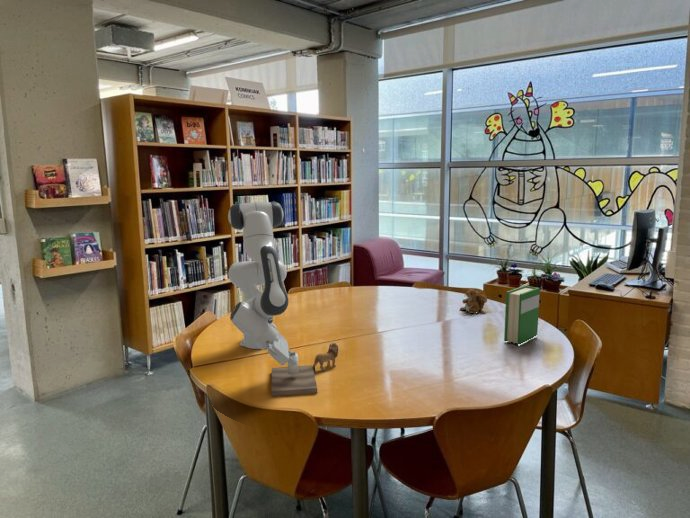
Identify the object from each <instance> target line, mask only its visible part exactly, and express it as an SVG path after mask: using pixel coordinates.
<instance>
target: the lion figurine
mask: <svg viewBox="0 0 690 518" xmlns="http://www.w3.org/2000/svg"><path fill="white" fill-rule="evenodd" d="M328 346H329V347H328V350H327V352H324V353H317V354H316V355H315V358H314V361H313V364H312V366H313V371H314V373H315V372H316V370H317V369H316V366H317V365H318V364H319V369H320V370H321V371H322V372H325V371H326V369H325V368H324V367H323V366H324V363H326V364H327V366H328V367H330V366H331V363H330V362H332V367H333V368H335V367H336V366H337V365H336V364H335V363H336V359H337V357H338V355H339V345H338V344H337V343H336V342H331V343H330V344H329V345H328Z"/></svg>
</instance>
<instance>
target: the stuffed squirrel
mask: <svg viewBox="0 0 690 518" xmlns="http://www.w3.org/2000/svg"><path fill="white" fill-rule="evenodd" d="M464 297H466V298H464V299H462V304H465V305H464V306H463V307H460V308H459V311H461V310H466V311H465V312H467V311H469V312H468V313H469V314H470V313H476V312H478V313H479V312H480V311H479V310H481V311H482V310H483V309H484V306H485V304H486V303H487V302H488V299H489V297H487V295H485V294H483V293H479V290H475V289H473V288H469V289H468V290H467V292H466V293H465V294H464ZM476 314H477V313H476Z"/></svg>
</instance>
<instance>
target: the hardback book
mask: <svg viewBox="0 0 690 518" xmlns="http://www.w3.org/2000/svg"><path fill="white" fill-rule="evenodd" d="M540 289H541V288H540V287H537V286H536V287H534V286H528V285H523V286H522V285H521V286H520V287H517V288H514V289H511V290H507V291H506V292H505V311H504V312H505V313H504V332H503V333H504V335H503V342H504V341H509V342H508V343H511V342H513V343H512V344H515V343H517V344H521V343H523V342H525V341H527V340H529V339H531V338H533V337H534V336H536V335H537V336H538V332H539V331H538V329H539V326H538V325H539V311H540V309H539V308H540V307H539V306H540V294H541V293H540V291H541V290H540ZM517 344H516V345H517Z"/></svg>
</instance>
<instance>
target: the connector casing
mask: <svg viewBox="0 0 690 518" xmlns="http://www.w3.org/2000/svg"><path fill="white" fill-rule="evenodd" d="M289 356H290V357H291V358H292V359H294V360H295V361H296V364H295V365H294V366H292V365H291V364H290V363H288V362H287V367H288V374H290V375H296V374H298V373H299V370H298V366H299V354H298V353H296V351H291V352H290V354H289Z"/></svg>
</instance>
